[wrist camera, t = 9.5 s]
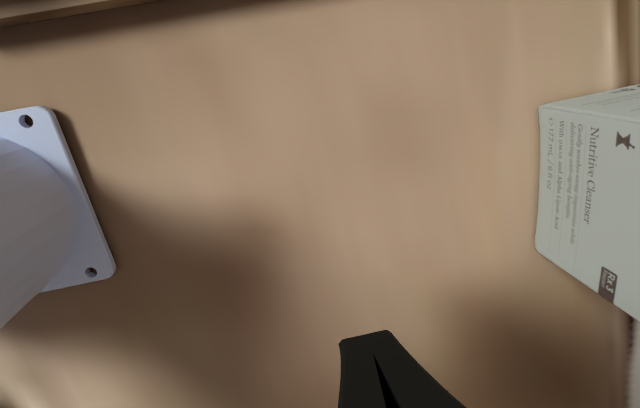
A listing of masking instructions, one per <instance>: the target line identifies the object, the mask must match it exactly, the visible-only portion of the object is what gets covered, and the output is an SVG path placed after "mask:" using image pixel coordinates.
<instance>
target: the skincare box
mask: <svg viewBox="0 0 640 408" xmlns="http://www.w3.org/2000/svg"><path fill="white" fill-rule="evenodd" d="M538 115H539V128H540V176H539V199H538V216H537V227H536V234H535V248H536V251H537V252H538V253H540V254H541V255H543V256H544V257H546V258H547V259H549V260H550V261H551V262H553V263H554V264H556V265H557V266H559V267H560V268H562V269H563V270H564V271H566V272H567V273H569V274H570V275H572V276H573V277H575V278H576V279H578V280H579V281H581V282H582V283H583V284H585V285H586V286H588V287H589V288H591V289H592V290H594V291H595V292H597V293H598V294H599V295H601V296H602V297H604V298H605V299H607V300H608V301H609V302H611V303H612V304H614V305H615V306H617V307H619V308H620V309H622V310H623V311H624V312H626V313H627V314H629V315H630V316H632V317H633V318H634V319H636V320H637V321H639V322H640V84H637V85H633V86H628V87H623V88H618V89H613V90H608V91H604V92H599V93H595V94H590V95H585V96H581V97H576V98H571V99H567V100H562V101H557V102H553V103H548V104H544V105H541V106H540V107H539V108H538Z"/></svg>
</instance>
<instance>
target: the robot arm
mask: <svg viewBox="0 0 640 408" xmlns="http://www.w3.org/2000/svg"><path fill="white" fill-rule="evenodd" d="M26 115H28V116H30V117H31V118H32V120H33V125H32V127H31V126H29V125H27V124H26V122H25V119H24V118H25V116H26ZM89 267H90V268H94V269H95V270H96V271H97V273H92V272H90V270H89ZM115 270H116V264H115V262H114V259H113V257H112V254H111V252H110V249H109V247H108V244H107V242H106V239H105V237H104V234H103V232H102V229H101V227H100V224H99V222H98V219H97V217H96V214H95V212H94V209H93V207H92V204H91V202H90V199H89V197H88V195H87V192H86V190H85V187H84V185H83V182H82V180H81V177H80V175H79V172H78V170H77V167H76V165H75V162H74V160H73V157H72V155H71V152H70V150H69V147H68V145H67V142H66V140H65V137H64V135H63V132H62V130H61V127H60V125H59V122H58V120H57V117H56V115H55V114H54V112H53V111H52V110H51V109H50V108H48V107H45V106H33V107H28V108H22V109H17V110H11V111H6V112H0V329H1V328H2V327H3V326H4V325H5V324H6V323H7V322H8V321H9V320H10V319H11V318H13V317H14V316H15V315H16V314H17V313H18V312H19V311H20V310H21V309H22V308H23V307H24V306H25V305H26V304H27V303H28V302H29V301H30V300H31V299H32V298H33V297H34V296H35V295H36V294H38V293H41V292H46V291H51V290H56V289H61V288H65V287H70V286H75V285H80V284H85V283H89V282H94V281H99V280H104V279H107V278H110V277H111V276H112V275H113V274H114V272H115ZM339 348H340V355H341V381H340V391H339V401H338V408H466V407H465V406H464V405H463V404H461V403H460V402H459V401H458V400H457V399H456V398H454V397H453V396H452V395H451V394H450V393H449V392H448V391H447V390H446V389H444V388H443V387H442V386H441V385H440V384H439V383H438V382H437V381H436V380H435V379H434V378H433V377H432V376H431V375H430V374H429V373H428V372H427V371H426V370H425V369H424V368H423V367H422V366H421V365H420V364H419V363H418V362H417V361H416V360H415V359H414V358H413V357H412V356H411V355H410V354H409V353H408V352H407V351H406V350H405V348H404V347H403V346H402V345H401V344H400V343H399V342H398V340H397V339H396V338H395V337H394V336H393V334H392V333H391V332H390V331H388V330H383V331H378V332H374V333H370V334H365V335H361V336H356V337H352V338H347V339H343V340H342V341H341V342H340V343H339Z"/></svg>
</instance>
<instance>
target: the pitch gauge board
mask: <svg viewBox="0 0 640 408" xmlns="http://www.w3.org/2000/svg"><path fill="white" fill-rule="evenodd" d="M154 1H160V0H0V28H1V27H7V26H13V25H19V24H25V23H31V22H37V21H42V20H48V19H54V18H60V17H66V16H72V15H78V14H84V13H90V12H95V11H101V10H107V9H113V8H119V7H125V6H131V5H137V4H143V3H148V2H154Z"/></svg>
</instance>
